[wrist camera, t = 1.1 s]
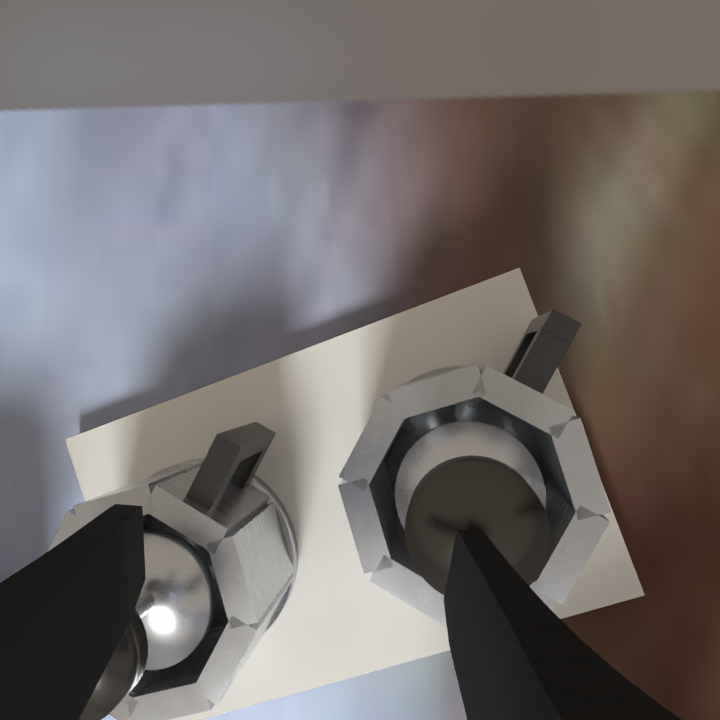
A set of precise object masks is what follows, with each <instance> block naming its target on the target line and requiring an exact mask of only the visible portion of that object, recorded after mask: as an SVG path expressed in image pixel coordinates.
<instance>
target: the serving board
mask: <svg viewBox="0 0 720 720" xmlns="http://www.w3.org/2000/svg"><path fill="white" fill-rule="evenodd" d="M536 317H538V314H537V312H536V309H535V307H534V304H533V301H532V299H531V296H530V294H529V291H528V288H527V286H526V283H525V280H524V278H523V275H522V273H521V270H520V268H517V269H514V270H512V271H509V272H506V273H504V274H501V275H498V276H496V277H493V278H491V279H488V280H485V281H483V282H480V283H477V284H475V285H472V286H469V287H467V288H464V289H462V290H459V291H456V292H454V293H451V294H448V295H446V296H443V297H440V298H438V299H435V300H432V301H430V302H427V303H425V304H422V305H419V306H417V307H414V308H411V309H409V310H406V311H403V312H401V313H398V314H395V315H393V316H390V317H388V318H385V319H382V320H380V321H377V322H374V323H372V324H369V325H366V326H364V327H361V328H358V329H356V330H353V331H351V332H348V333H345V334H343V335H340V336H337V337H335V338H332V339H329V340H327V341H324V342H321V343H319V344H316V345H314V346H311V347H308V348H306V349H303V350H300V351H298V352H295V353H292V354H290V355H287V356H284V357H282V358H279V359H277V360H274V361H271V362H269V363H266V364H263V365H261V366H258V367H255V368H253V369H250V370H247V371H245V372H242V373H240V374H237V375H234V376H232V377H229V378H226V379H224V380H221V381H218V382H216V383H213V384H210V385H208V386H205V387H203V388H200V389H197V390H195V391H192V392H189V393H187V394H184V395H181V396H179V397H176V398H173V399H171V400H168V401H166V402H163V403H160V404H158V405H155V406H152V407H150V408H147V409H144V410H142V411H139V412H136V413H134V414H131V415H129V416H126V417H123V418H121V419H118V420H115V421H113V422H110V423H107V424H105V425H102V426H99V427H97V428H94V429H92V430H89V431H86V432H84V433H81V434H78V435H76V436H73V437H70V438H68V439H65V441H66V444H67V447H68V450H69V453H70V456H71V459H72V463H73V466H74V469H75V472H76V475H77V478H78V481H79V484H80V487H81V490H82V494H83V497H84V500H85V501H88V500H90V499H93V498H95V497H98V496H101V495H103V494H106V493H108V492H111V491H113V490H116V489H119V488H121V487H124V486H126V485H129V484H132V483H134V482H137V481H139V480H142V479H145V478H148V477H150V476H151V475H153V474H155V473H157V472H159V471H160V470H162V469H165V468H167V467H170V466H173V465H175V464H178V463H181V462H184V461H189V460H194V459H205V457H206V455H207V453H208V450H209V448H210V447H211V445H212V443H213V441H214V439H215V437H216V435H217V434H218V433H221V432H224V431H228V430H231V429H234V428H237V427H240V426H244V425H247V424H250V423H253V422H258V423H259V424H261V425H263V426H265V427H266V428H268V429H270V430H272V431H273V432H275V433H276V435H275V436H274V438H273V440H272V442H271V444H270V446H269V448H268V449H267V451H266V453H265V455H264V457H263V459H262V461H261V463H260V465H259V467H258V469H257V471H256V473H255V475H256V476H258V477H259V478H260V479H261V480H263V481H264V482H265V483H266V484H267V485H268V486H269V487H270V488H271V489H272V490H273V491H274V492H275V494H276V495H277V496H278V498H279V499H280V501H281V502H282V503H283V505H284V507H285V509H286V511H287V513H288V515H289V516H290V519H291V522H292V525H293V527H294V531H295V535H296V540H297V547H298V568H297V575H296V580H295V583H294V587H293V590H292V593H291V595H290V597H289V599H288V602H287V603H286V605H285V606H284V608H283V610H282V611H281V613H280V614H279V616H278V617H277V619H276V620H275V622H274V623H273V624H272V625H271V627H270V628H269V629H268V630H267V631H266V632H265V633H264V635H263V637H262V638H261V640H260V641H259V643H258V644H257V646H256V647H255V649H254V650H253V652H252V653H251V655H250V657H249V658H248V660H247V661H246V663H245V664H244V666H243V667H242V669H241V670H240V672H239V673H238V675H237V676H236V678H235V679H234V681H233V682H232V684H231V685H230V687H229V688H228V690H227V691H226V693H225V694H224V696H223V697H222V699H221V700H220V702H219V703H218V705H216V704H215V705H214V706H213V708H212V709H211V710H210V711H206V712H201V713H197V714H192V715H187V716H183V717H178V718H174V719H169V720H202V719H205V718H209V717H213V716H216V715H220V714H223V713H227V712H230V711H234V710H238V709H241V708H245V707H248V706H252V705H255V704H259V703H262V702H266V701H270V700H273V699H277V698H280V697H284V696H287V695H291V694H295V693H298V692H302V691H305V690H309V689H312V688H316V687H320V686H323V685H327V684H330V683H334V682H337V681H341V680H345V679H348V678H352V677H355V676H359V675H362V674H366V673H370V672H373V671H377V670H380V669H384V668H387V667H391V666H395V665H398V664H402V663H405V662H409V661H412V660H416V659H419V658H423V657H427V656H430V655H434V654H437V653H441V652H444V651H448V650H450V645H449V640H448V632H447V627H445V626H444V625H442V624H440V623H439V622H437V621H435V620H434V619H432V618H430V617H429V616H427V615H425V614H424V613H422V612H420V611H419V610H417V609H415V608H414V607H412V606H410V605H409V604H407V603H405V602H404V601H402V600H400V599H399V598H397V597H395V596H394V595H392V594H390V593H389V592H387V591H385V590H384V589H382V588H380V587H379V586H377V585H375V584H374V583H372V582H370V578H371V576H372V573H373V572H369V573H365V574H364V572H363V569H362V565H361V562H360V558H359V555H358V552H357V548H356V545H355V542H354V538H353V535H352V532H351V528H350V525H349V521H348V518H347V515H346V511H345V508H344V505H343V501H342V498H341V494H340V491H339V488H338V484H339V483H340V482H341V481H342V480H343V479H342V478H340V477H339V475H340V473H341V471H342V469H343V467H344V465H345V464H346V462H347V460H348V458H349V456H350V454H351V452H352V450H353V449H354V447H355V445H356V443H357V441H358V439H359V437H360V435H361V433H362V432H363V430H364V428H365V426H366V424H367V422H368V420H369V418H370V417H371V415H372V413H373V411H374V409H375V407H376V405H377V403H378V401H379V400H380V398H381V397H382V396H383V395H385V394H387V393H388V391H389V390H391V389H393V388H395V387H397V386H399V385H403V384H405V383H407V382H408V381H410V380H412V379H414V378H416V377H417V376H419V375H421V374H424V373H427V372H429V371H432V370H435V369H440V368H444V367H451V366H466V365H469V364H478V365H487V366H489V367H491V368H493V369H495V370H497V371H499V372H501V373H503V372H504V370H505V368H506V367H507V365H508V363H509V361H510V359H511V357H512V356H513V354H514V352H515V350H516V348H517V346H518V345H519V343H520V341H521V339H522V337H523V335H524V333H525V332H526V330H527V328H528V326H529V324H530V322H531V321H532V319H534V318H536ZM543 395H545V396H547V397H549V398H551V399H553V400H555V401H557V402H559V403H561V404H563V405H564V406H566V407H568V408H570V409H572V410H574V409H573V406H572V403H571V401H570V398H569V396H568V393H567V390H566V388H565V385H564V382H563V380H562V377H561V375H560V372H559V369H558V367H557V369H556V370H555V372H554V374H553V376H552V378H551V379H550V381H549V383H548V385H547V387H546V389H545V390H544V392H543ZM572 415H574V416H576V414H575V411H574V413H573V414H572ZM602 485H603V484H602ZM603 489H604V487H603ZM604 492H605V490H604ZM605 495H606V492H605ZM606 498H607V495H606ZM607 501H608V504H609V507H610V510H611V512H610V513H606V514H603V515H604V516H605V517H606V518H607V519H608V520H609V521H610V523H609V525H608V526H607V528H606V530H605V532H604V533H603V535H602V537H601V539H600V540H599V542H598V544H597V546H596V547H595V549H594V551H593V552H592V554H591V556H590V558H589V559H588V561H587V563H586V565H585V566H584V568H583V570H582V572H581V573H580V575H579V577H578V579H577V580H576V582H575V584H574V586H573V587H572V589H571V591H570V593H569V594H568V596H567V598H566V600H565V601H564V603H563V605H561V604H559V603H558V602H556V601H554V600H553V599H551V600H552V603H553V606H554V610H555V611H553V612H554V613H555V614H556V615H557V616H558V617H559V618H560V619H562V618H566V617H569V616H573V615H576V614H580V613H584V612H587V611H591V610H594V609H598V608H601V607H605V606H609V605H612V604H616V603H619V602H623V601H626V600H630V599H634V598H637V597H641V596H644V595H645V594H644V592H643V589H642V586H641V584H640V581H639V579H638V576H637V573H636V571H635V568H634V566H633V563H632V560H631V558H630V555H629V552H628V550H627V547H626V545H625V542H624V539H623V537H622V534H621V532H620V529H619V526H618V524H617V521H616V518H615V516H614V513H613V511H612V508H611V505H610V503H609V500H608V498H607Z"/></svg>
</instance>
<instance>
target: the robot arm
mask: <svg viewBox="0 0 720 720" xmlns="http://www.w3.org/2000/svg"><path fill="white" fill-rule="evenodd" d="M145 579H146V576H145V554H144V531H143V509H142V506H135V505H122V504H114V505H113V506H111V507H110V508H108V509H107V510H106V511H104V512H103V513H101V514H100V515H99V516H97V517H96V518H94V519H93V520H92V521H90V522H89V523H87V524H86V525H85V526H83V527H82V528H81V529H79V530H78V531H76V532H75V533H74V534H72V535H71V536H69V537H68V538H67V539H65V540H64V541H62V542H61V543H60V544H58V545H57V546H55V547H54V548H52V549H51V550H50V551H48V552H47V553H45V554H44V555H42V556H41V557H40V558H38V559H37V560H35V561H34V562H32V563H30V564H29V565H27V566H26V567H24V568H23V569H21V570H20V571H18V572H16V573H15V574H13V575H12V576H10V577H9V578H7V579H6V580H4V581H2V582H1V583H0V720H79V718H80V716H81V714H82V713H83V711H84V709H85V707H86V705H87V703H88V701H89V699H90V697H91V695H92V693H93V692H94V690H95V688H96V686H97V684H98V682H99V680H100V678H101V676H102V674H103V673H104V671H105V669H106V667H107V665H108V663H109V661H110V659H111V657H112V655H113V653H114V651H115V649H116V648H117V646H118V644H119V642H120V640H121V638H122V636H123V634H124V632H125V630H126V628H127V626H128V624H129V622H130V619H131V617H132V614H133V612H134V609H135V607H136V604H137V601H138V599H139V596H140V593H141V590H142V588H143V585H144V582H145ZM444 607H445V616H446V625H447V632H448V640H449V645H450V650H451V654H452V658H453V662H454V667H455V671H456V675H457V679H458V683H459V687H460V691H461V695H462V699H463V703H464V707H465V711H466V716H467V720H681V719H680V718H678V717H677V716H675V715H674V714H673V713H671V712H670V711H668V710H667V709H665V708H664V707H663V706H661V705H660V704H659V703H657V702H656V701H655V700H653V699H652V698H651V697H649V696H648V695H647V694H645V693H644V692H643V691H642V690H640V689H639V688H638V687H636V686H635V685H634V684H632V683H631V682H630V681H629V680H627V679H626V678H625V677H624V676H622V675H621V674H620V673H619V672H617V671H616V670H615V669H614V668H613V667H611V666H610V665H609V664H608V663H607V662H606V661H605V660H603V659H602V658H601V657H600V656H599V655H598V654H597V653H595V652H594V651H593V650H592V649H591V648H590V647H589V646H587V645H586V644H585V643H584V642H583V641H582V640H581V639H580V638H579V637H578V636H577V635H576V634H575V633H574V632H572V631H571V630H570V629H569V628H568V627H567V626H566V625H565V624H564V623H563V622H562V621H561V619H560V618H559V617H558V616H557V615H556V614H555V613H554V612H553V611H552V610H551V609H550V608H549V607H548V606H547V605H546V604H545V603H544V602H543V601H542V600H541V599H540V598H539V597H538V595H537V594H536V593H535V592H534V591H533V590H532V589H531V588H530V587H529V585H528V584H527V583H526V582H525V581H524V580H523V579H522V577H521V576H520V575H519V574H518V573H517V572H516V570H515V569H514V568H513V567H512V566H511V565H510V563H509V562H508V561H507V560H506V559H505V557H504V556H503V555H502V554H501V552H500V551H499V550H498V549H497V548H496V546H495V545H494V544H493V543H492V542H491V540H490V539H489V538H488V537H487V536H486V534H485V533H484V532H483V531H472V530H458V529H457V531H456V537H455V542H454V547H453V552H452V558H451V563H450V568H449V573H448V579H447V584H446V589H445V594H444Z"/></svg>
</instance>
